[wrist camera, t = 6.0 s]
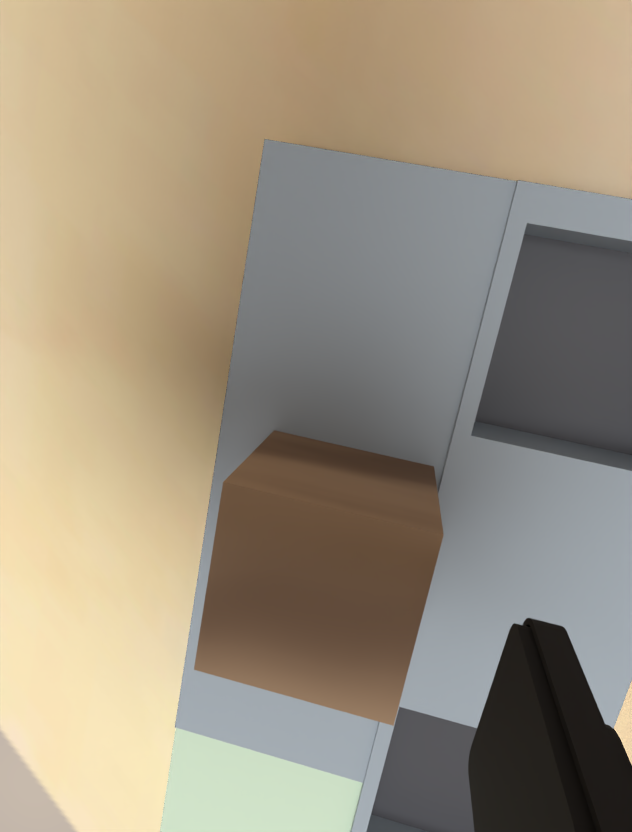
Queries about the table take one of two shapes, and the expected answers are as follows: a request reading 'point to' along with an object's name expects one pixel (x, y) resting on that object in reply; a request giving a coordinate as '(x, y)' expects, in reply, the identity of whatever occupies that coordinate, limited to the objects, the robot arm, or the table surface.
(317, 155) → the box
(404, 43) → the table surface
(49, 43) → the table surface
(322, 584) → the block
